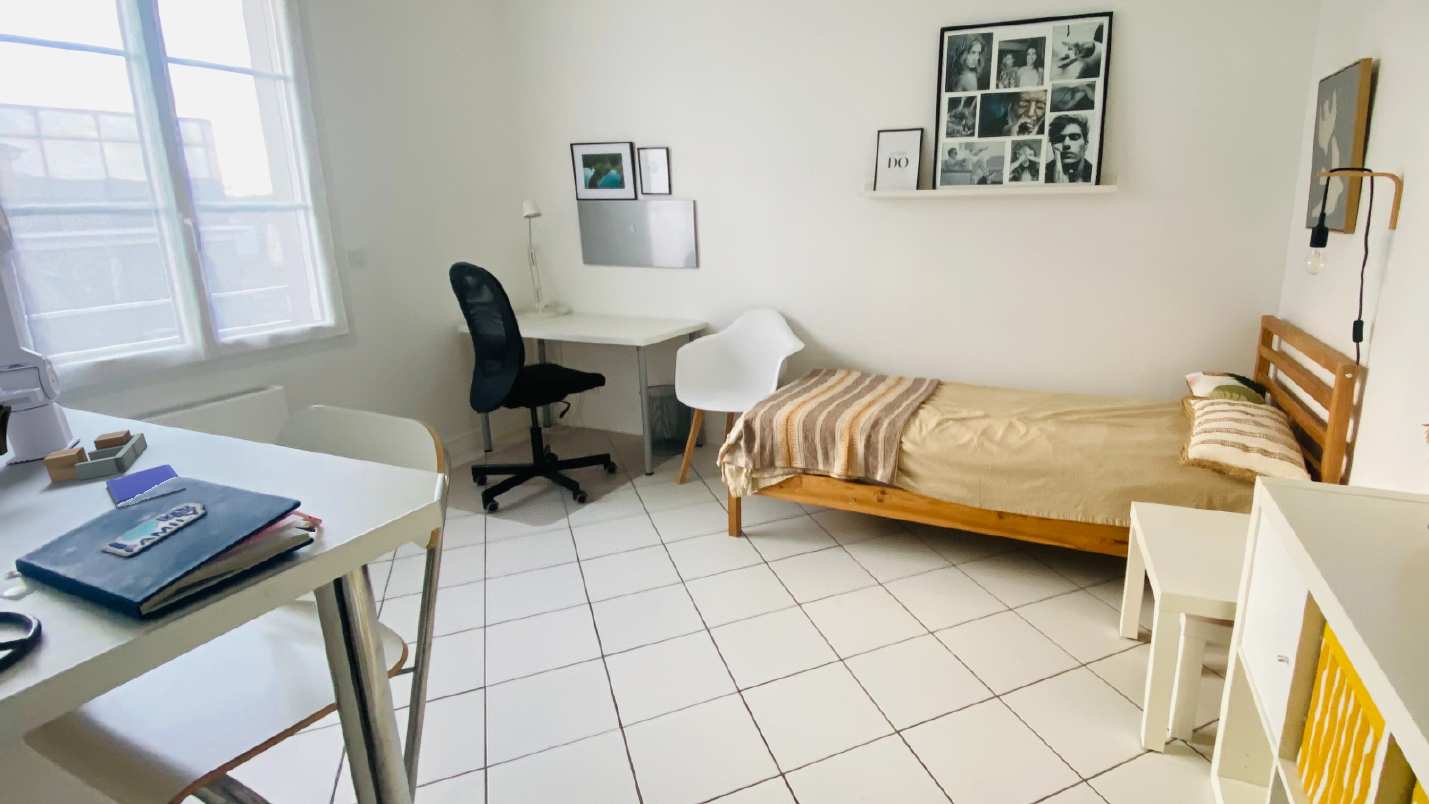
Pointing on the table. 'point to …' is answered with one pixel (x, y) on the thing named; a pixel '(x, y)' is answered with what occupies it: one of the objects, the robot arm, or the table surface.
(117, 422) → the table surface
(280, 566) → the table surface
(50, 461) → the block
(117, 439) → the seated block
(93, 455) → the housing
